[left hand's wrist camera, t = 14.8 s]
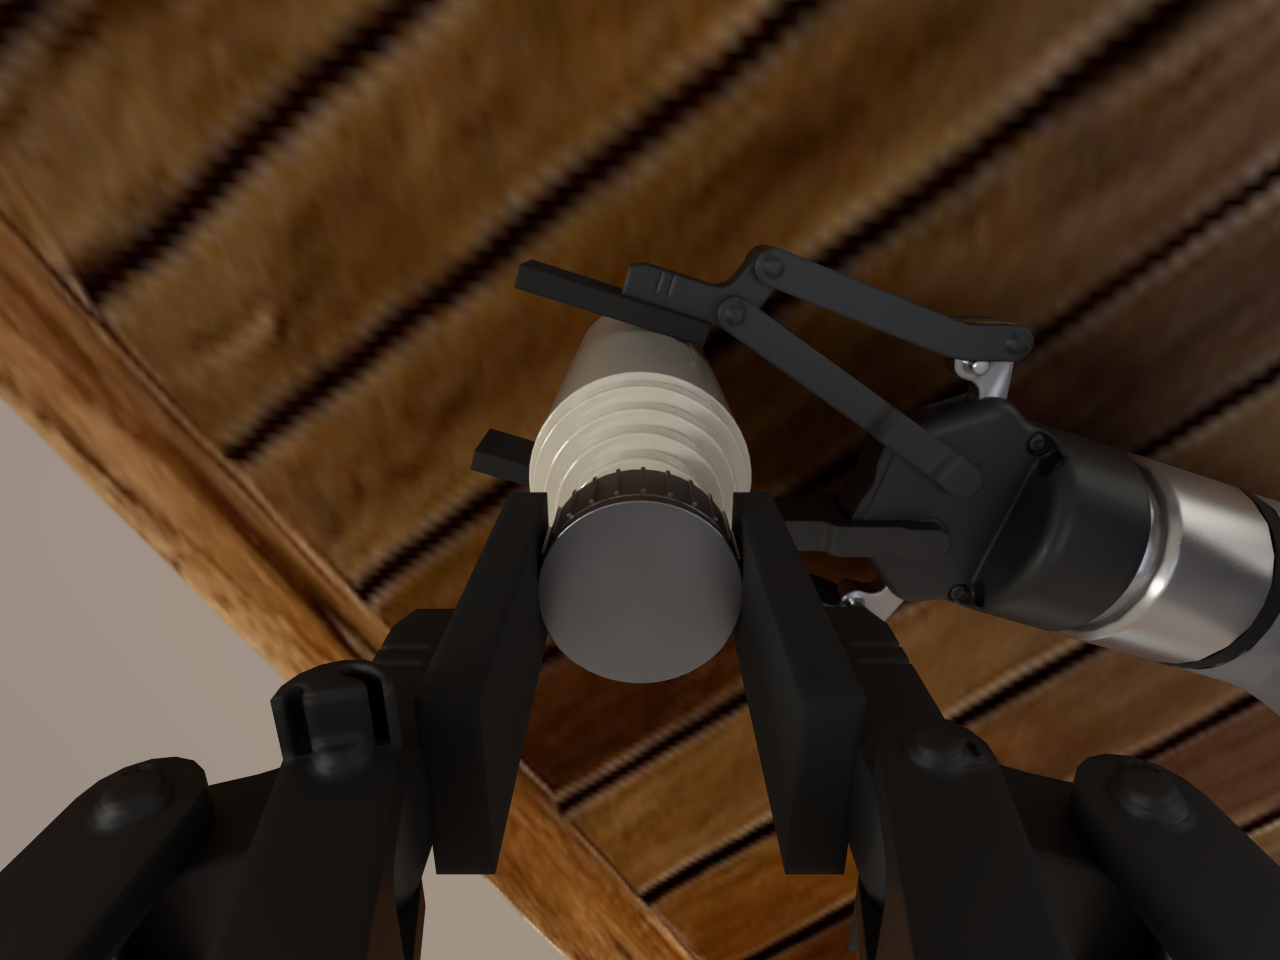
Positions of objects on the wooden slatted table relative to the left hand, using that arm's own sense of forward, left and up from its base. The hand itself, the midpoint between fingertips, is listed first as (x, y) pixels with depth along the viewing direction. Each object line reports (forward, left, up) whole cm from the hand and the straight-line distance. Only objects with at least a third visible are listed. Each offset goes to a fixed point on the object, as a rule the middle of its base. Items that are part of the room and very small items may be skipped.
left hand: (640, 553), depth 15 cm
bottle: (0, 0, -18) cm, 18 cm away
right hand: (+3, -4, -12) cm, 13 cm away
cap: (0, 0, +1) cm, 1 cm away
